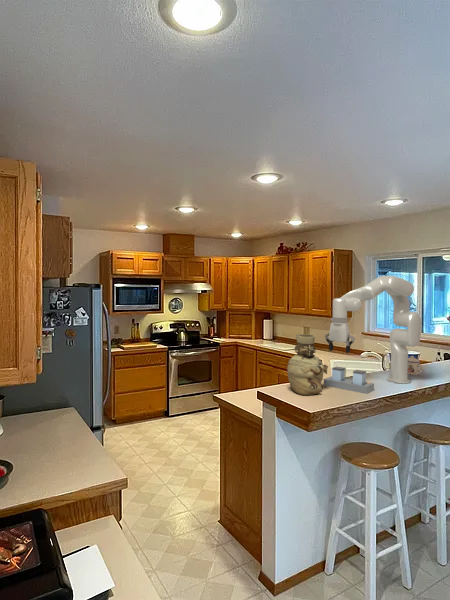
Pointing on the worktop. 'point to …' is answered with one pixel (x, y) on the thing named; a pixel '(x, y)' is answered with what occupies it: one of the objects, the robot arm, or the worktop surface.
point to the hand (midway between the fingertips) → (339, 351)
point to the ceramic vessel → (306, 367)
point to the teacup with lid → (413, 366)
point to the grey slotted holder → (349, 385)
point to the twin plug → (359, 377)
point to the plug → (338, 373)
